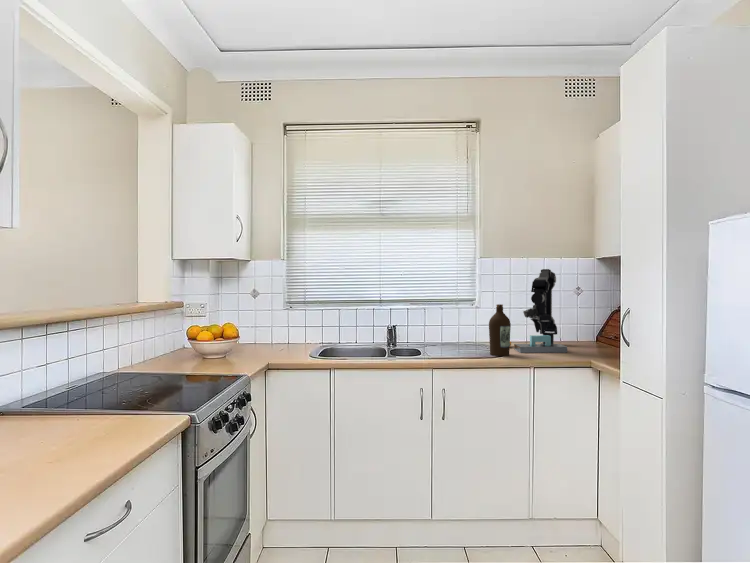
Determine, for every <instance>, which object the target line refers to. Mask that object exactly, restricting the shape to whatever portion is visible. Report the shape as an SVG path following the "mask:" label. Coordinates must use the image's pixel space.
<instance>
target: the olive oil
mask: <svg viewBox="0 0 750 563" xmlns="http://www.w3.org/2000/svg"><path fill="white" fill-rule="evenodd" d="M495 306H496V308H495V310H496V312H495V313H494V314H493V315H492V316H491V317H490V319H489V321H488V333H489V334H488V335H489V336H488V337H489V355H490V356H495V357H506V356H507V357H508V356H510V348H511V346H510V342H511V320H510V318H509V316H507V315H506V313H504V304H500V303H499V304H496V305H495Z"/></svg>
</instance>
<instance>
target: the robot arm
mask: <svg viewBox="0 0 750 563" xmlns="http://www.w3.org/2000/svg"><path fill="white" fill-rule="evenodd" d="M538 275H539V276H537V277H536V278H534V279H533V281H532V284H531V290H530V291H531V293H533V294H532V295H531V297H530V300H531V302H532V303H533V305H532V308H529V309H527V310H523V312H522V313H523V316H524V317H525V318H529V319H530V320H531V321H532V322H533V324H534V329H535V332H536V333H539V334H540V335H549V336H551V344H555V342H554V341H555V340H554V337H555V335H558V327H557V324H556V321H555V318H554V317H553V313H552V312H553V289H554V287H555V285H556V283H557V275H556V273H555V272H553V271H552V270H551V269H550V268H545V269H544V268H543V269H540V273H539V274H538ZM540 344H545V342H540Z"/></svg>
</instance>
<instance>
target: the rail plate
mask: <svg viewBox="0 0 750 563" xmlns="http://www.w3.org/2000/svg"><path fill="white" fill-rule="evenodd" d="M513 349H514V350H515V351H517V352H518V353H521V354H540V353H541V354H548V353H549V354H550V353H552V354H553V353H555V354H556V353H557V354H559V353H560V354H561V353H562V354H563V353H565V354H566V353H567V354H568V346H566V345H564V344H561V343H554V344H551V346H545V344H541V343H535V346H530V343H513Z"/></svg>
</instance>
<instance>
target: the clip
mask: <svg viewBox="0 0 750 563" xmlns="http://www.w3.org/2000/svg"><path fill="white" fill-rule="evenodd" d="M537 342H538V343H543V342H545V346H551V336H549V335H543V334H540V335H537V334H536V335H529V344H530V346H535V344H536V343H537Z"/></svg>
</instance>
